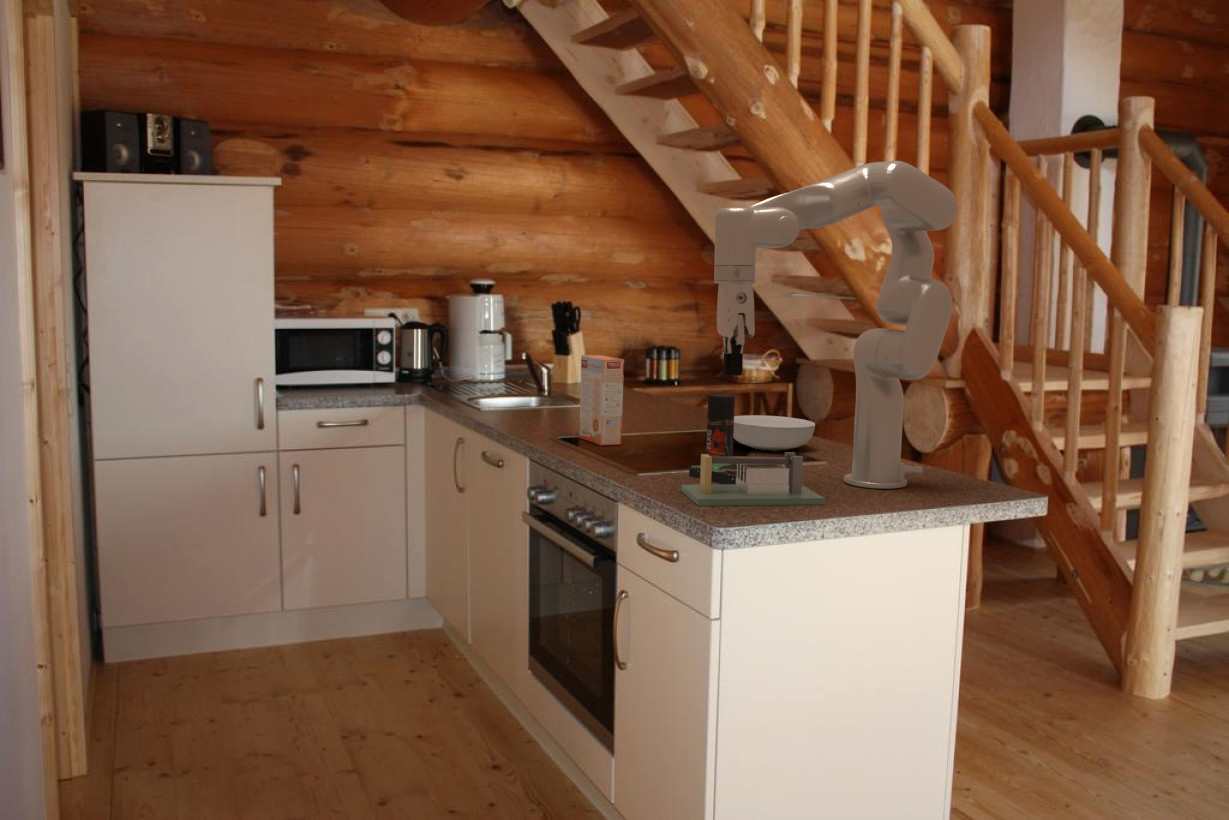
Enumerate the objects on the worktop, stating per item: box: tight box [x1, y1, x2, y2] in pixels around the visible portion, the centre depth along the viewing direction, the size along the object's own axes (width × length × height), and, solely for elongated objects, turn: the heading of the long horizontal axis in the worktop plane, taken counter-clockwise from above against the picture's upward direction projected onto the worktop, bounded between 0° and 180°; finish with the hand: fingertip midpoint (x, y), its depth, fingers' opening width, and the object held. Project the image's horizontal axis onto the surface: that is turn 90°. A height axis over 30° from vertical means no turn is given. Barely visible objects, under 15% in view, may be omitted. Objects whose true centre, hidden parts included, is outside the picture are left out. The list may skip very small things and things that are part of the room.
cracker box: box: [578, 354, 625, 447], centre depth 284 cm, size 14×6×21 cm, turn 23°
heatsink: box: [736, 464, 789, 495], centre depth 221 cm, size 8×8×5 cm
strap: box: [711, 455, 794, 465], centre depth 220 cm, size 17×3×2 cm, turn 100°
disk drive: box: [688, 463, 737, 484], centre depth 240 cm, size 10×3×15 cm
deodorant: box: [705, 393, 736, 456], centre depth 259 cm, size 6×6×15 cm
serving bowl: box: [733, 414, 816, 451], centre depth 282 cm, size 21×21×7 cm
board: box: [680, 451, 826, 507], centre depth 221 cm, size 24×14×8 cm, turn 100°
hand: (732, 374), depth 218 cm, fingers closed
